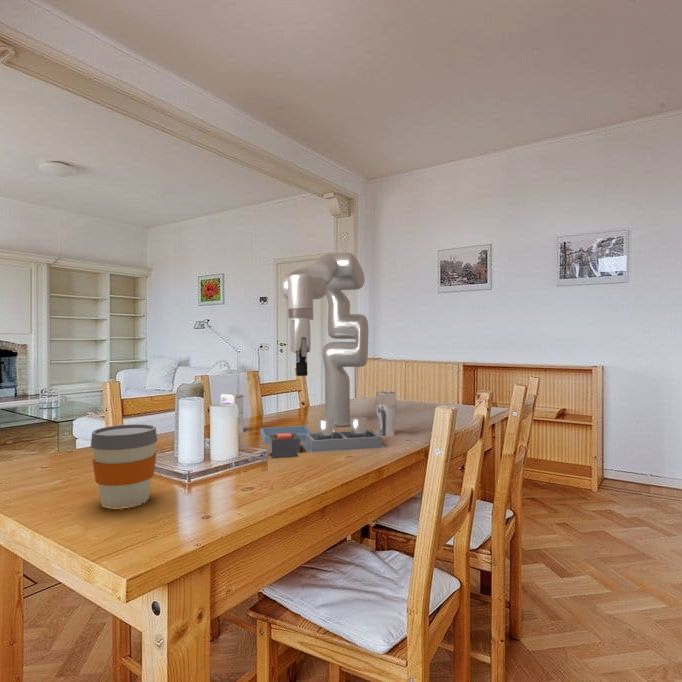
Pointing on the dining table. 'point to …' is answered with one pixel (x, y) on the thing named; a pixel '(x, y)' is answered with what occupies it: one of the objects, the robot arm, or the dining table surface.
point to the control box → (284, 446)
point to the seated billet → (358, 427)
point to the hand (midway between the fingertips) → (301, 375)
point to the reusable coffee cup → (124, 463)
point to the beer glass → (386, 412)
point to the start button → (283, 436)
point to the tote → (279, 430)
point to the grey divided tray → (342, 442)
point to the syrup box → (235, 399)
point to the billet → (326, 428)
